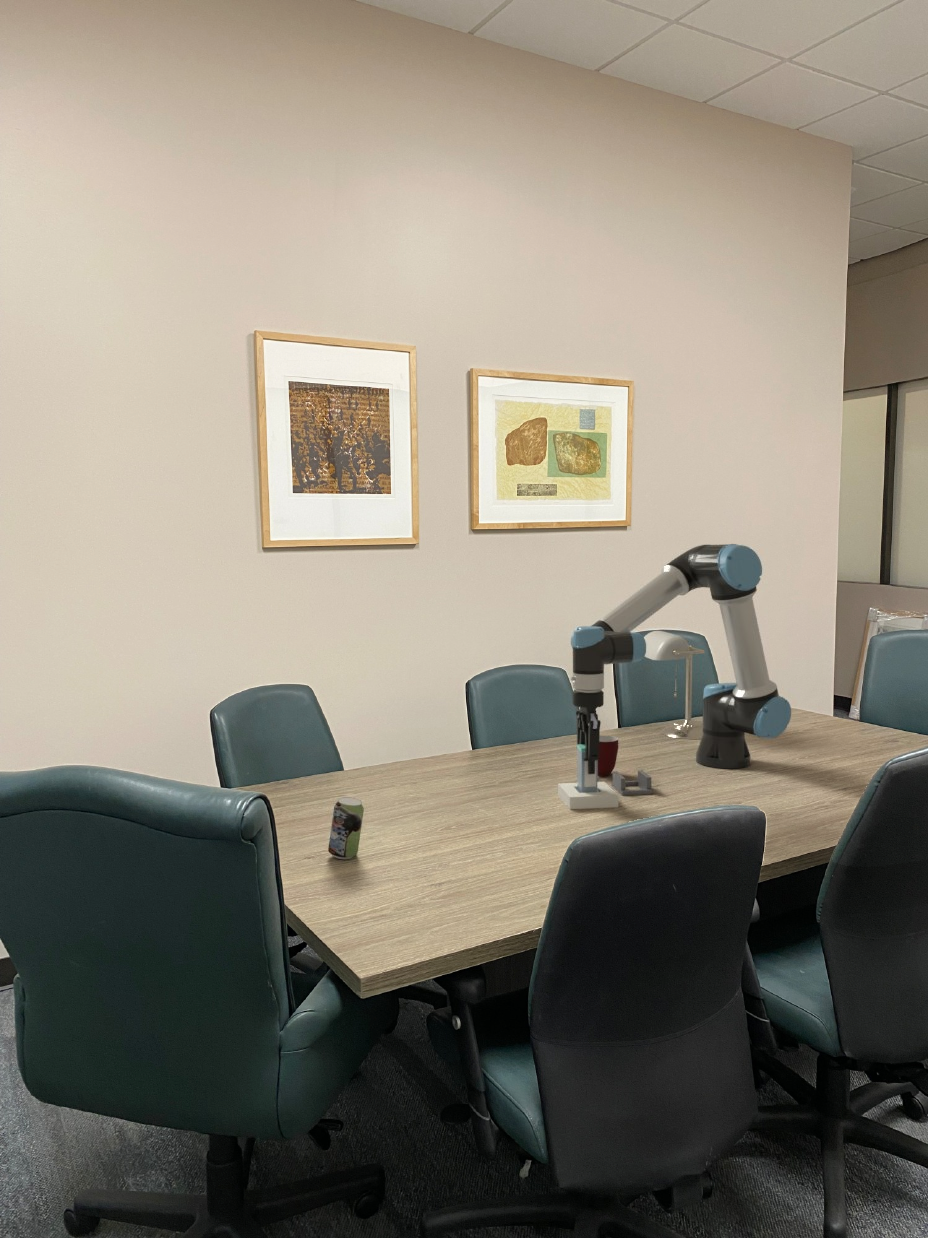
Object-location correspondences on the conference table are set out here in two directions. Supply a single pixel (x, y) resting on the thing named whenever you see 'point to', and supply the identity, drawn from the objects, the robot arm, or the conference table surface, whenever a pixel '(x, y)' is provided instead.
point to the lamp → (672, 649)
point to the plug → (580, 771)
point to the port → (587, 796)
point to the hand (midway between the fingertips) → (587, 783)
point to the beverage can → (346, 828)
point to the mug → (607, 755)
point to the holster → (632, 784)
